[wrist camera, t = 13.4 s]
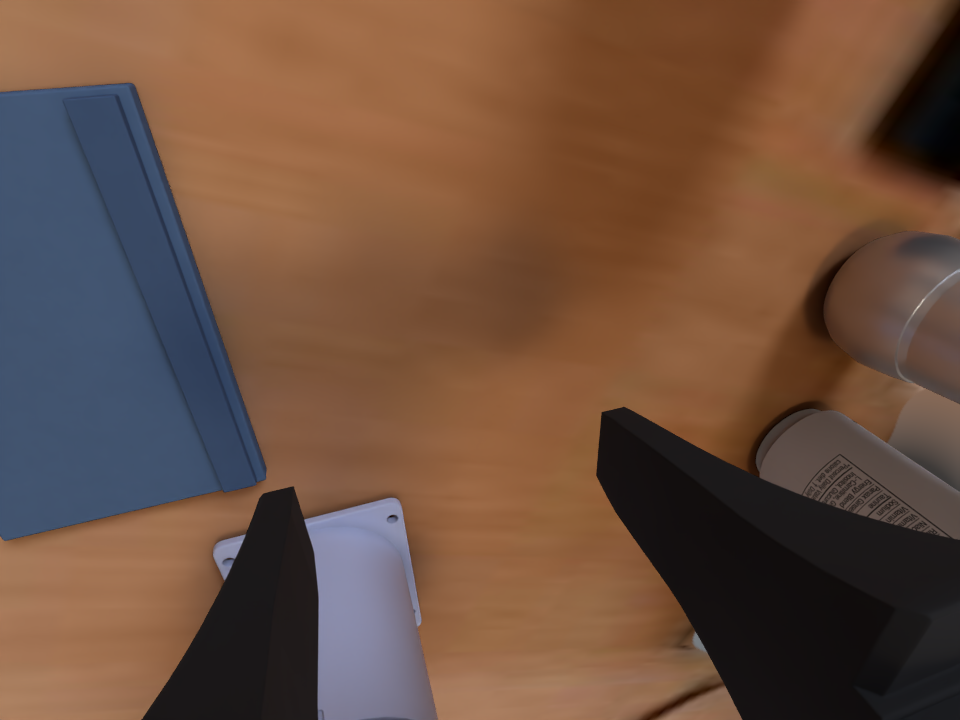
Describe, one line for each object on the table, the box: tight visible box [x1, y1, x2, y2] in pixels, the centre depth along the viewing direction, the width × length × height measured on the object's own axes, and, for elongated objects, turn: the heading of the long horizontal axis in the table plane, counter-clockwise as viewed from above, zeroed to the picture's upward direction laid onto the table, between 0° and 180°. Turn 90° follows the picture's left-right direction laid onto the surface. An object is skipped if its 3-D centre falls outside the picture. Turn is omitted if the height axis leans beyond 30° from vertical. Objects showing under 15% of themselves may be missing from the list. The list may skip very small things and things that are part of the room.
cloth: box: [0, 83, 266, 541], centre depth 17 cm, size 14×9×1 cm, turn 3°
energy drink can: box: [756, 409, 960, 540], centre depth 26 cm, size 6×6×15 cm
